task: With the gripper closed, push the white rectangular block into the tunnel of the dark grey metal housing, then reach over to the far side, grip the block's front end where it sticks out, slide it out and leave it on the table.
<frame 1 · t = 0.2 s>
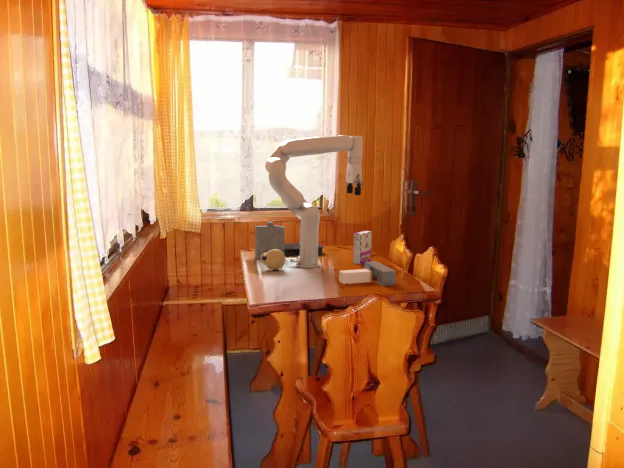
hand: (353, 194, 262), 37 cm above the table, tool pointing down, fingers open, 9 cm apart
candy bar box: (362, 262, 270), on the table
white rectangular block: (355, 281, 232), on the table
housing: (379, 279, 236), on the table
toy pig: (273, 270, 250), on the table
hip flask: (269, 258, 277), on the table
diary: (299, 253, 292), on the table
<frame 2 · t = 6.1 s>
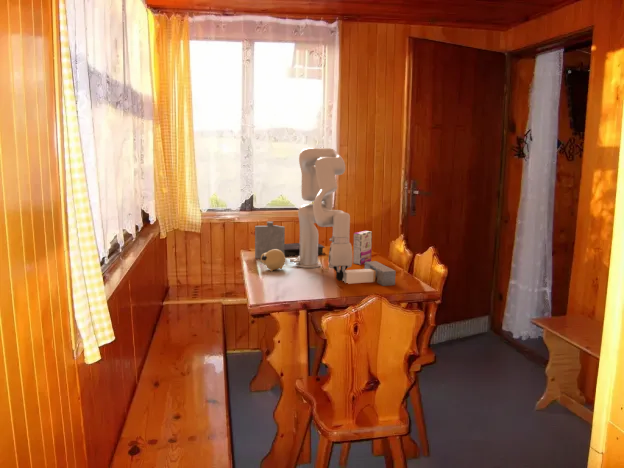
hand: (339, 280, 229), 1 cm above the table, tool pointing down, fingers closed
white rectangular block: (358, 281, 232), on the table, touching gripper
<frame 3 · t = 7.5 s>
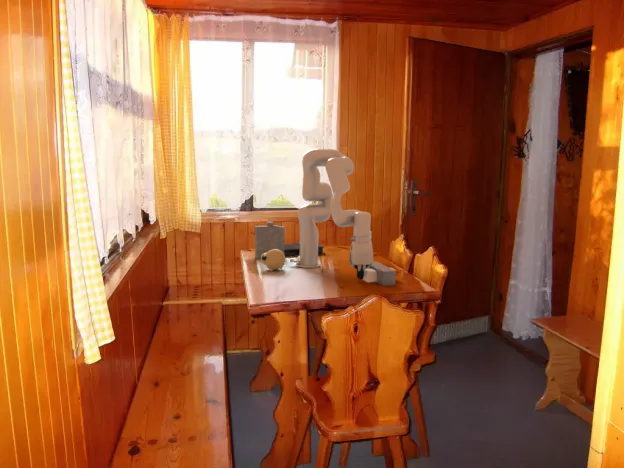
hand: (360, 278, 232), 1 cm above the table, tool pointing down, fingers closed
white rectangular block: (379, 280, 235), on the table, touching gripper
everything else where it was.
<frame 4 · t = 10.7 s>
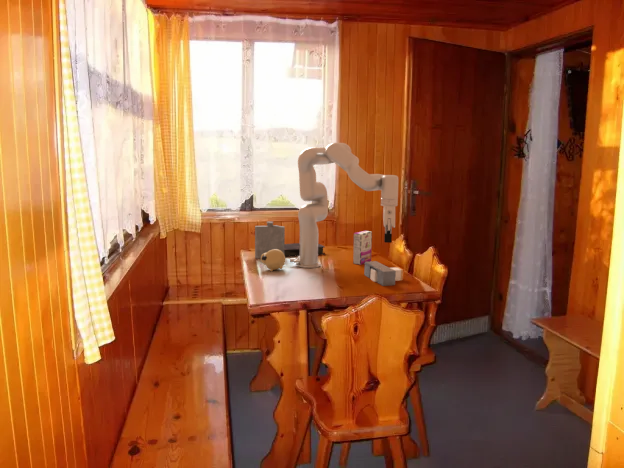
hand: (387, 242, 233), 18 cm above the table, tool pointing down, fingers closed
white rectangular block: (386, 279, 236), on the table
everything else where it was.
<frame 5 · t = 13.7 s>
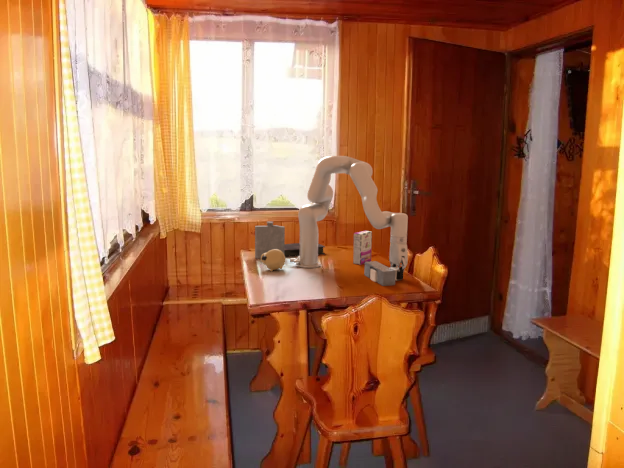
hand: (396, 277, 238), 1 cm above the table, tool pointing down, fingers closed on white rectangular block, 5 cm apart
white rectangular block: (386, 279, 236), on the table, touching gripper
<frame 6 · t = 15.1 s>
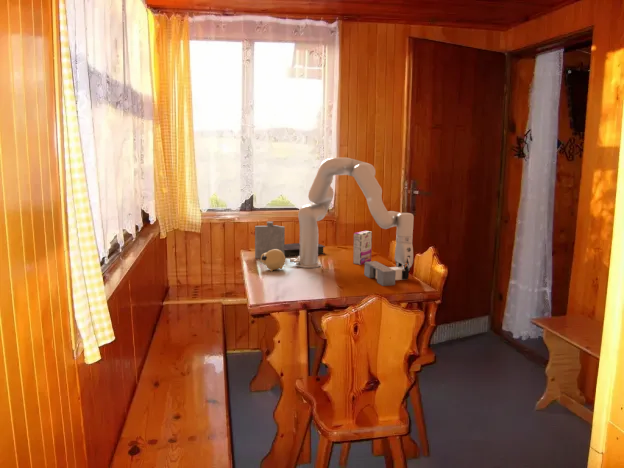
hand: (402, 277, 239), 1 cm above the table, tool pointing down, fingers closed on white rectangular block, 5 cm apart
white rectangular block: (391, 278, 238), on the table, touching gripper
everything else where it was.
when the fingers open (1 cm above the table, at t = 16.5 s): white rectangular block stays where it is, on the table.
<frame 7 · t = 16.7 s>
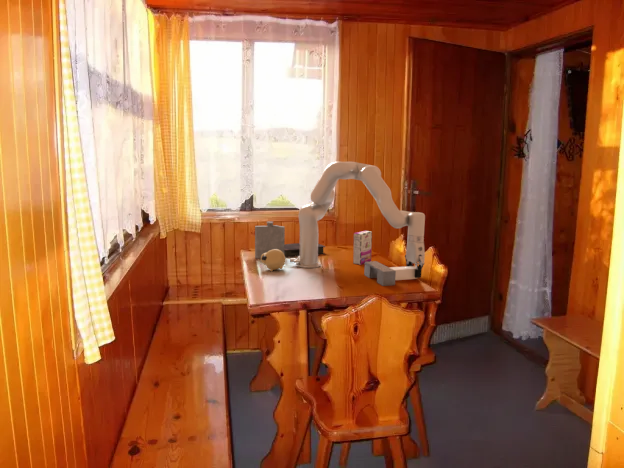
hand: (413, 275, 241), 1 cm above the table, tool pointing down, fingers open, 7 cm apart
white rectangular block: (402, 278, 240), on the table
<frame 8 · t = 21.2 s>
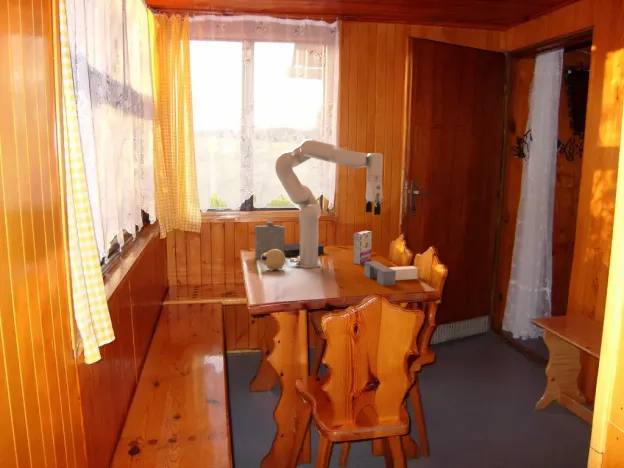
hand: (372, 213, 251), 28 cm above the table, tool pointing down, fingers open, 9 cm apart
at the end: white rectangular block inside the target area (2.6 cm from its centre), on the table; white rectangular block touching table; white rectangular block tilted 0° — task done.
